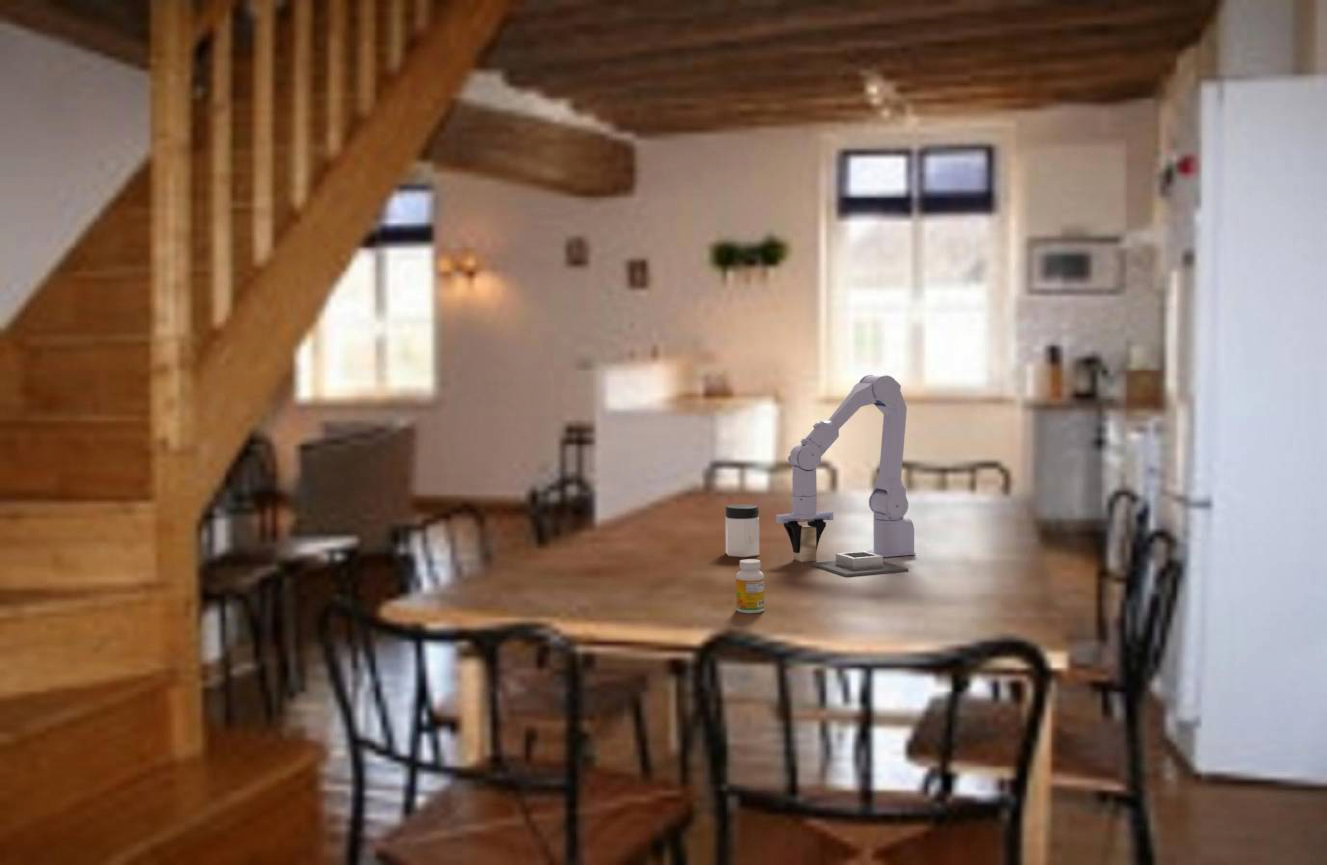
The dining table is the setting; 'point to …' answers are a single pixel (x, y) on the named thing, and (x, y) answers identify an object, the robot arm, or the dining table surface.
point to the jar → (742, 530)
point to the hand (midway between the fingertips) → (804, 551)
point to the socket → (859, 560)
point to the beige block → (807, 545)
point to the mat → (848, 572)
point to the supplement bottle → (750, 587)
